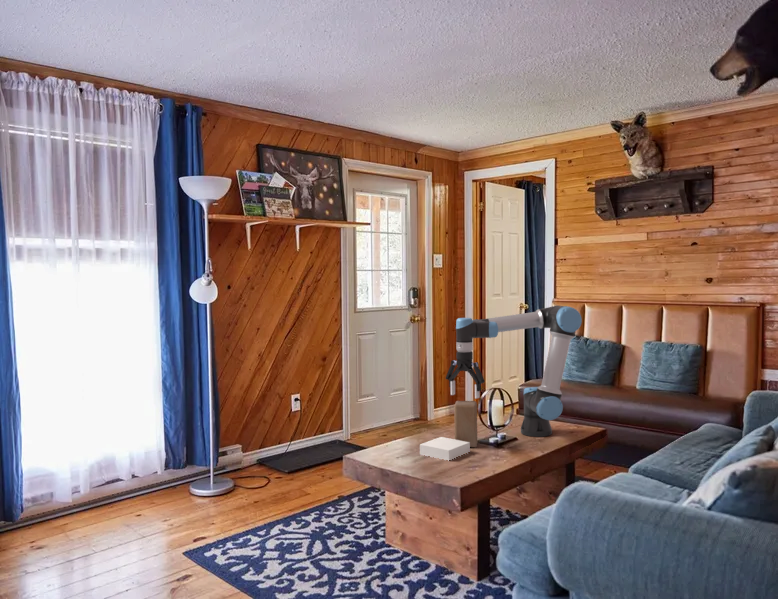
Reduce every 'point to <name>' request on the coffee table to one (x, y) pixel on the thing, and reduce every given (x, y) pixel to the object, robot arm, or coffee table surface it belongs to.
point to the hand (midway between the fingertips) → (464, 396)
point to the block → (466, 421)
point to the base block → (444, 448)
